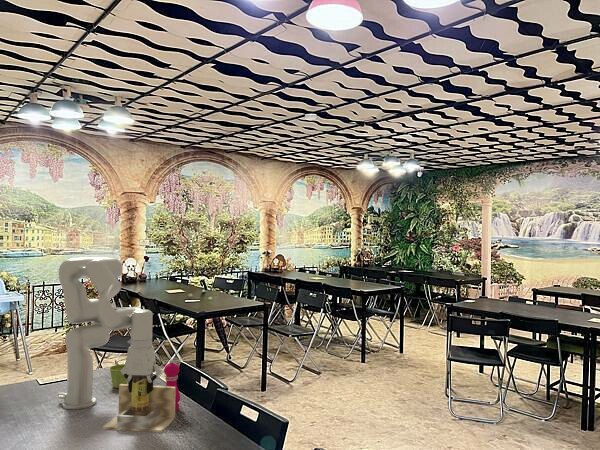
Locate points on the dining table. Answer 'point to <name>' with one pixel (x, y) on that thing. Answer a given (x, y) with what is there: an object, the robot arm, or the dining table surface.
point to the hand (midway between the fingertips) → (140, 391)
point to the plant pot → (117, 375)
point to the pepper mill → (172, 379)
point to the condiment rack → (150, 419)
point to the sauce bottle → (139, 394)
